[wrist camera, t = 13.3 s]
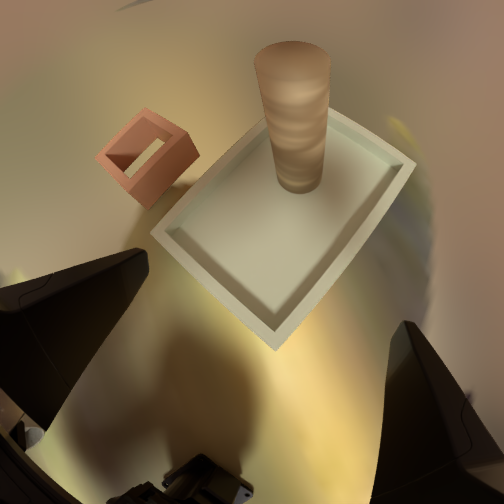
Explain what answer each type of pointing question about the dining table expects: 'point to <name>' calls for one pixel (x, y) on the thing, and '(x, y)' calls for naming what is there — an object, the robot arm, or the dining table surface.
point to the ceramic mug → (32, 432)
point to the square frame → (158, 166)
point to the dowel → (295, 110)
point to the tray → (281, 224)
